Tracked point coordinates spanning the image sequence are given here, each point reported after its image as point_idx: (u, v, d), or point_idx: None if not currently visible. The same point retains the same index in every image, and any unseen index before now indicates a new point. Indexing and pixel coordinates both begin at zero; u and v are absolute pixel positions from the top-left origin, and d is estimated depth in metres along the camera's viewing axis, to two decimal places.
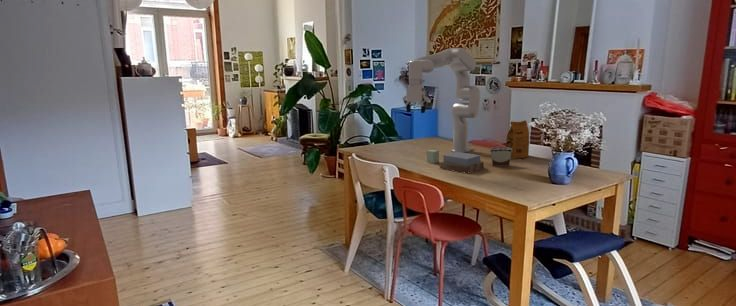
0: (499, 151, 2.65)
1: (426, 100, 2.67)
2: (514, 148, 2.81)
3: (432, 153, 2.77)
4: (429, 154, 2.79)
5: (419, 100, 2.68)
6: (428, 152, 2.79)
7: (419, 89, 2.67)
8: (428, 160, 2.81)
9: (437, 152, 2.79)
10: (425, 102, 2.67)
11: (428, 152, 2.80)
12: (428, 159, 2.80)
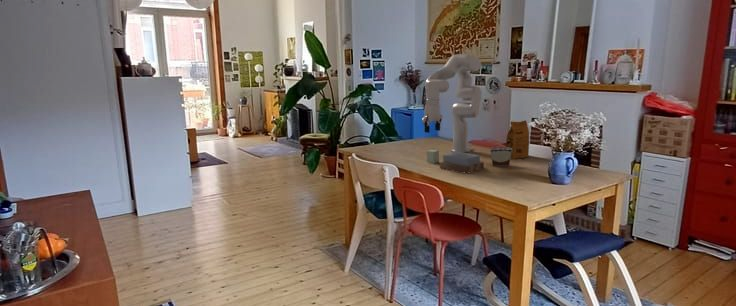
0: (499, 151, 2.65)
1: (441, 117, 2.81)
2: (514, 148, 2.81)
3: (432, 153, 2.77)
4: (429, 154, 2.79)
5: (439, 118, 2.77)
6: (428, 152, 2.79)
7: (439, 108, 2.76)
8: (428, 160, 2.81)
9: (437, 152, 2.79)
10: (441, 119, 2.80)
11: (428, 152, 2.80)
12: (428, 159, 2.80)
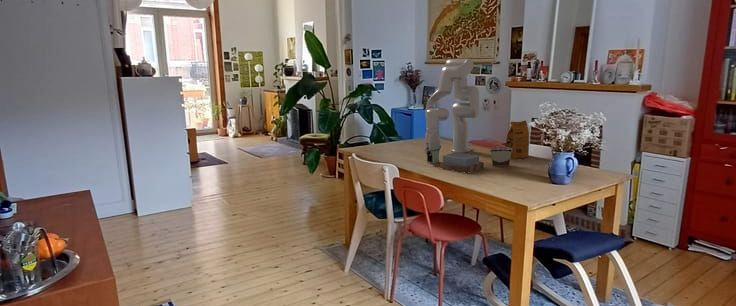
0: (499, 151, 2.65)
1: (439, 147, 2.83)
2: (514, 148, 2.81)
3: (432, 153, 2.77)
4: None
5: (439, 146, 2.81)
6: None
7: (439, 136, 2.79)
8: None
9: (437, 152, 2.79)
10: (439, 149, 2.83)
11: None
12: None
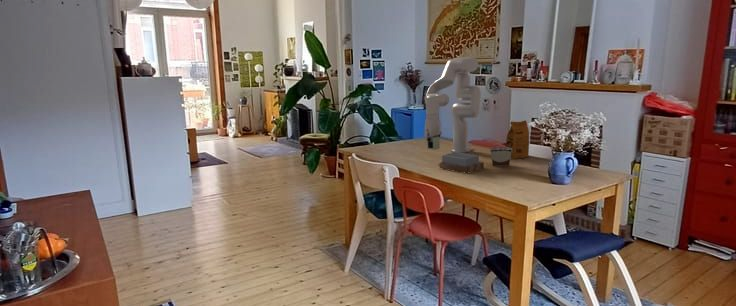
0: (499, 151, 2.65)
1: (440, 134, 2.82)
2: (514, 148, 2.81)
3: (432, 139, 2.76)
4: None
5: (440, 132, 2.79)
6: None
7: (439, 122, 2.78)
8: None
9: (437, 138, 2.78)
10: (439, 135, 2.82)
11: None
12: None
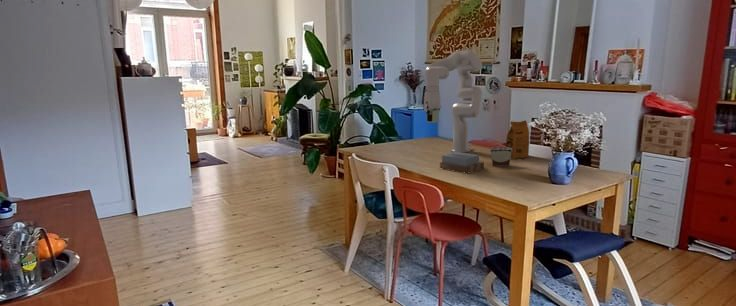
0: (499, 151, 2.65)
1: (439, 107, 2.79)
2: (514, 148, 2.81)
3: (432, 112, 2.73)
4: None
5: (439, 105, 2.76)
6: None
7: (439, 95, 2.75)
8: None
9: (437, 111, 2.75)
10: (439, 109, 2.78)
11: None
12: None
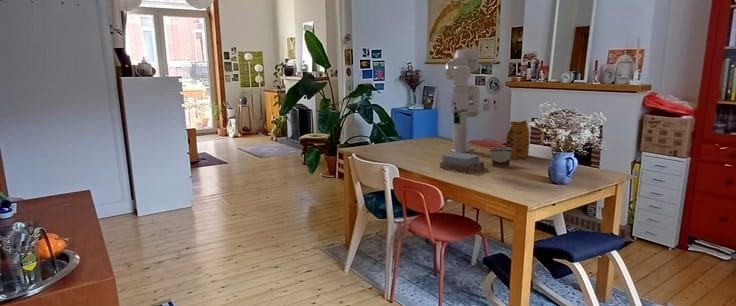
0: (499, 151, 2.65)
1: (467, 109, 2.62)
2: (514, 148, 2.81)
3: (459, 114, 2.56)
4: None
5: (467, 107, 2.60)
6: None
7: (467, 95, 2.58)
8: None
9: (465, 113, 2.58)
10: (466, 110, 2.62)
11: None
12: None
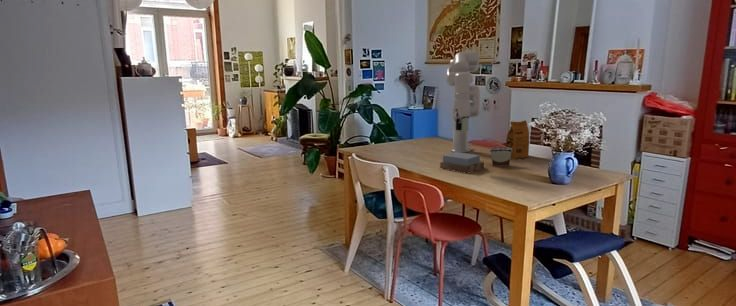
0: (499, 151, 2.65)
1: (469, 115, 2.62)
2: (514, 148, 2.81)
3: (461, 120, 2.56)
4: None
5: (469, 113, 2.59)
6: None
7: (469, 102, 2.58)
8: None
9: (467, 119, 2.58)
10: (468, 117, 2.61)
11: None
12: None
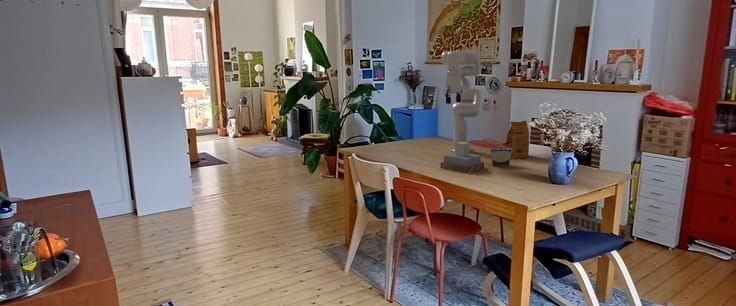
0: (499, 151, 2.65)
1: (461, 89, 2.81)
2: (514, 148, 2.81)
3: (462, 145, 2.59)
4: (459, 147, 2.61)
5: (460, 90, 2.78)
6: (458, 144, 2.61)
7: (460, 79, 2.77)
8: (457, 153, 2.62)
9: (467, 144, 2.61)
10: (461, 91, 2.81)
11: (457, 144, 2.61)
12: (457, 152, 2.62)
